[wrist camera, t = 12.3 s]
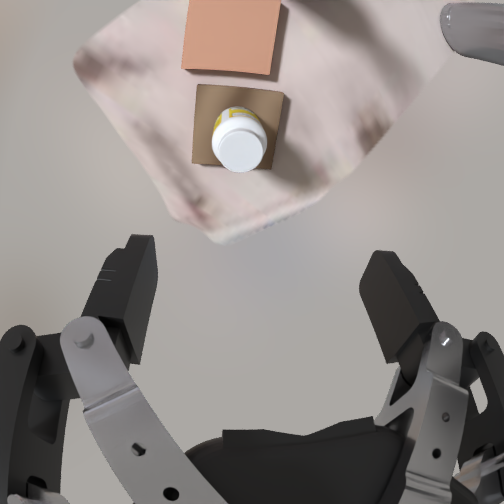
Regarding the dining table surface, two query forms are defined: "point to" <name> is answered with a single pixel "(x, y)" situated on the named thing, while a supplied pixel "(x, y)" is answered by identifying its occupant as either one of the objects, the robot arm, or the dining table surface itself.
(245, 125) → the supplement bottle
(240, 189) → the dining table surface
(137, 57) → the dining table surface
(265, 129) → the walnut mat
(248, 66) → the terracotta tile
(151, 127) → the dining table surface
